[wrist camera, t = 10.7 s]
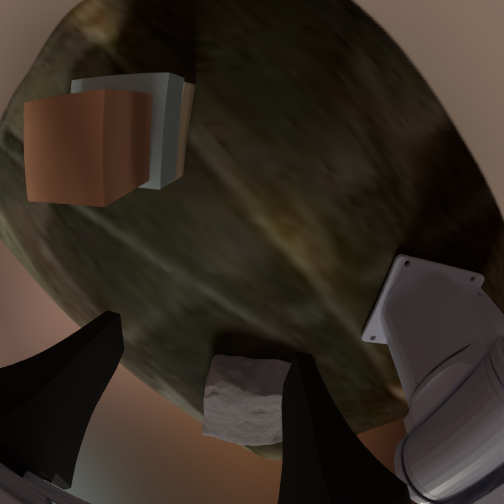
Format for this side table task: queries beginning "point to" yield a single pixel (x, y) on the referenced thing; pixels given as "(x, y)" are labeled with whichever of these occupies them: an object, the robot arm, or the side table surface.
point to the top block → (162, 120)
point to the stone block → (244, 400)
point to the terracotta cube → (87, 146)
